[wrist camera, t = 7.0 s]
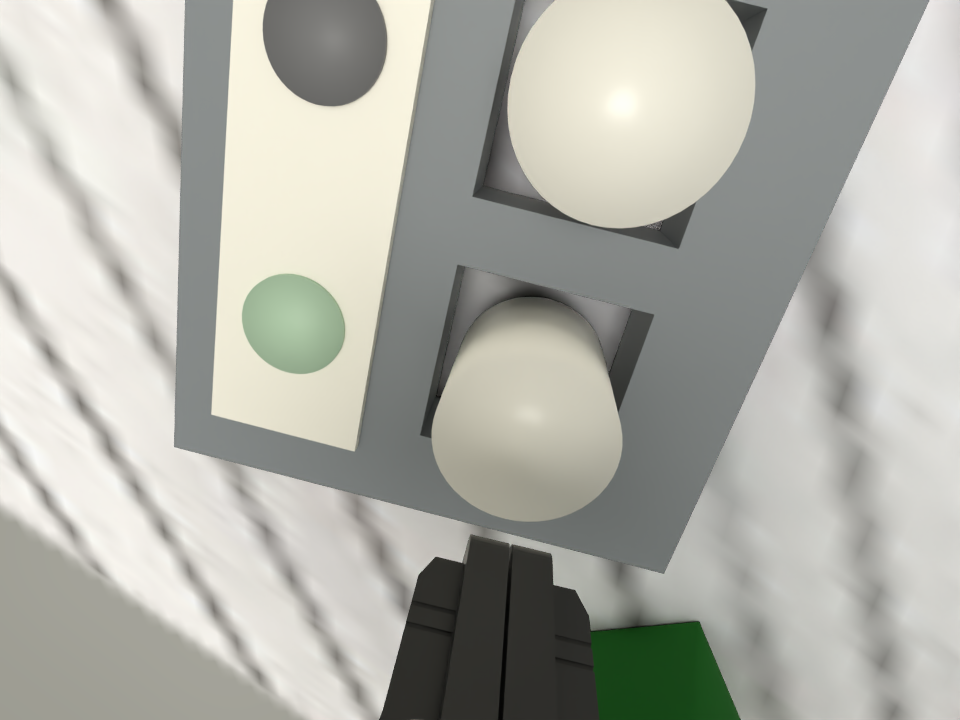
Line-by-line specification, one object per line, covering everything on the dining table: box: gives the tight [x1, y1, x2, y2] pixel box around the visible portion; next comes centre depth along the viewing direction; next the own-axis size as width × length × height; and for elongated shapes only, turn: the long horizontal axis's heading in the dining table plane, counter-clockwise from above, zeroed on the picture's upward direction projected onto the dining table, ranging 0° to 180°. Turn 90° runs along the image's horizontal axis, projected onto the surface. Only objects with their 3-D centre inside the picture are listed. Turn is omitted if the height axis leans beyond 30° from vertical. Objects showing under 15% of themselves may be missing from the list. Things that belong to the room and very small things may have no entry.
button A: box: [432, 297, 623, 522], centre depth 17 cm, size 5×5×5 cm
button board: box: [174, 0, 929, 574], centre depth 17 cm, size 18×28×3 cm, turn 167°
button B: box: [507, 0, 755, 228], centre depth 14 cm, size 5×5×5 cm
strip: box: [211, 0, 434, 452], centre depth 15 cm, size 5×24×1 cm, turn 167°
